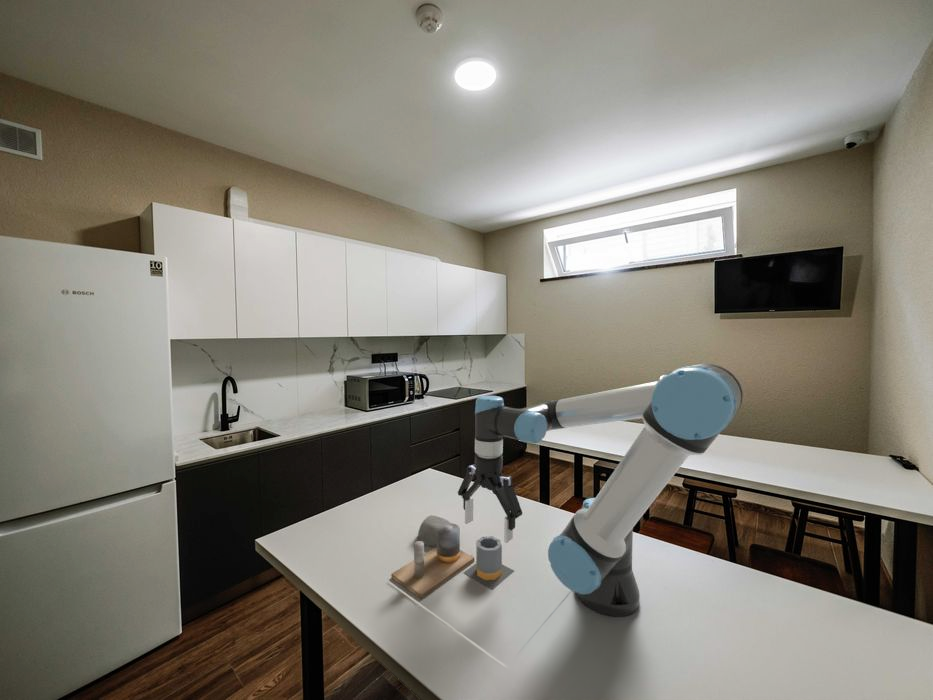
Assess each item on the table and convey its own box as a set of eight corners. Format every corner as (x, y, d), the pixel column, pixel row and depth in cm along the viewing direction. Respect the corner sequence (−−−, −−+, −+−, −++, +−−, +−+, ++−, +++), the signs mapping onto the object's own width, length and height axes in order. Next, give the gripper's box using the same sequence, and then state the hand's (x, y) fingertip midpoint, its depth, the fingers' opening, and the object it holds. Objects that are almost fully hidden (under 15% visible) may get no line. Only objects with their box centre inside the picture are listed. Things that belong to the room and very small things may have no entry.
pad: (514, 572, 101) (514, 570, 101) (492, 591, 93) (492, 589, 93) (485, 557, 107) (485, 556, 107) (463, 574, 100) (462, 572, 100)
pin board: (474, 562, 105) (474, 528, 104) (421, 600, 90) (421, 560, 89) (444, 546, 113) (444, 514, 112) (391, 579, 98) (391, 542, 97)
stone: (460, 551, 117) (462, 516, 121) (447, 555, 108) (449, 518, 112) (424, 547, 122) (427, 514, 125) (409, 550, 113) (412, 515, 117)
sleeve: (505, 571, 100) (505, 542, 100) (491, 583, 95) (491, 553, 95) (486, 561, 105) (486, 533, 104) (471, 572, 100) (471, 543, 99)
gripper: (536, 461, 93) (535, 542, 94) (463, 441, 110) (463, 510, 111) (520, 469, 88) (518, 555, 89) (445, 447, 104) (445, 519, 105)
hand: (487, 530), depth 100 cm, fingers open, 13 cm apart
